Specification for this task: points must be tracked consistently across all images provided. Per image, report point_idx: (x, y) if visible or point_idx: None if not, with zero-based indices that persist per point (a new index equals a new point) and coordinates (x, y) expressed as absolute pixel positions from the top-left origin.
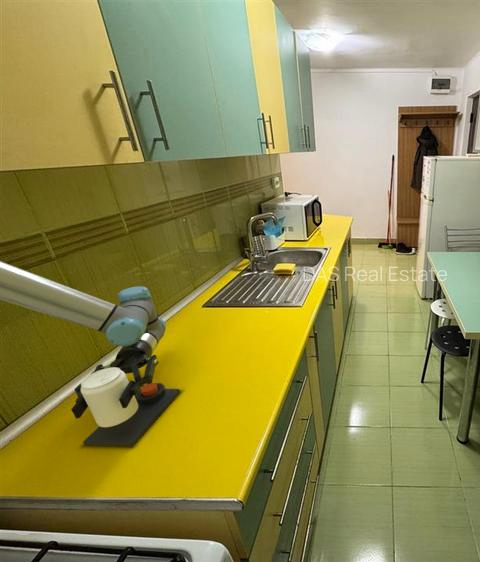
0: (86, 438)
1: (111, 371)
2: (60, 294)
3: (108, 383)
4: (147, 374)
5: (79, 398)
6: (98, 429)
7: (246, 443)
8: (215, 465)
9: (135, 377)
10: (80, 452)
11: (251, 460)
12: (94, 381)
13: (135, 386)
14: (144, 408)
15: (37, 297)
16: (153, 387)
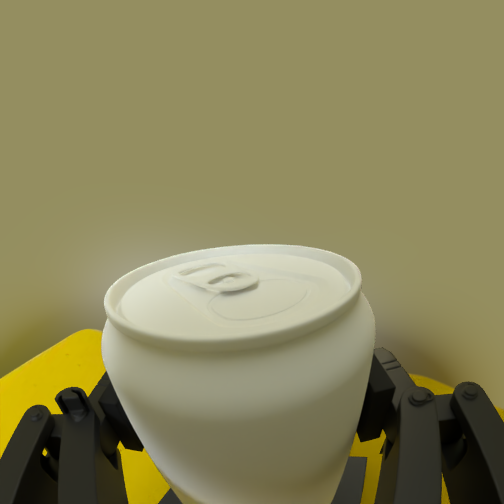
0: (364, 466)
1: (176, 316)
2: None
3: (177, 263)
4: (30, 411)
5: (384, 361)
6: (351, 496)
7: (40, 366)
8: (83, 357)
9: (78, 388)
10: (356, 447)
11: (51, 347)
12: (272, 274)
13: (105, 380)
14: None
15: None
16: None
